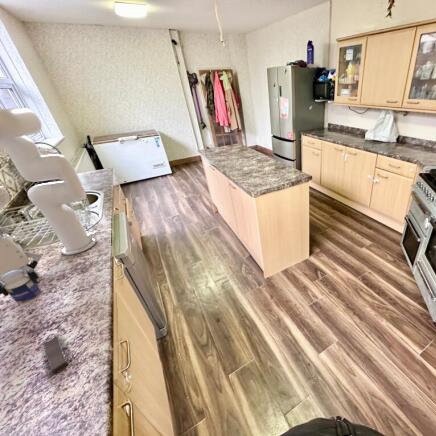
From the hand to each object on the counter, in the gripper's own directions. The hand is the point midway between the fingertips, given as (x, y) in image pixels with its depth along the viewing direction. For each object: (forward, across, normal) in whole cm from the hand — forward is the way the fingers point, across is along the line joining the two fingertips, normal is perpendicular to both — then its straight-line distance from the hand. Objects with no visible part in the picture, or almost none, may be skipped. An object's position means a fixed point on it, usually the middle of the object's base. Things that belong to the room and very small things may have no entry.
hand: (21, 286), depth 72 cm
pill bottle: (+5, 0, 0) cm, 5 cm away
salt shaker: (+12, 0, -23) cm, 26 cm away
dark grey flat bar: (+12, 0, +23) cm, 26 cm away
